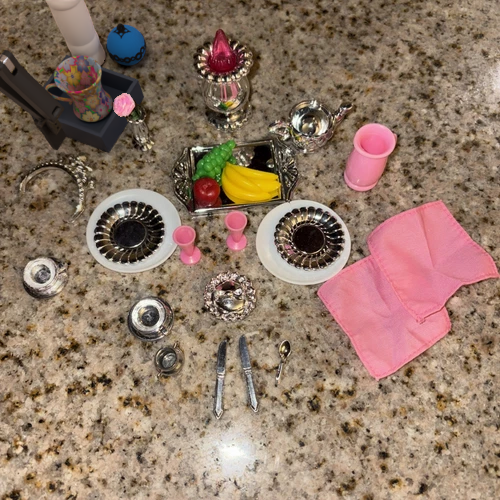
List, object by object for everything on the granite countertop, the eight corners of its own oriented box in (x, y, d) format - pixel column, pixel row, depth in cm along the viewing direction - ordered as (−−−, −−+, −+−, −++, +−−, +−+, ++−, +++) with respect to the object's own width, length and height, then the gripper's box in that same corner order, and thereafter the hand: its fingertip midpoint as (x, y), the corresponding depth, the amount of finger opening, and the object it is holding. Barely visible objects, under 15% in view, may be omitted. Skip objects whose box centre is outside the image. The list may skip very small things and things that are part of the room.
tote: (37, 126, 105) (26, 109, 100) (75, 72, 111) (66, 54, 106) (109, 153, 103) (101, 137, 97) (144, 97, 108) (138, 79, 103)
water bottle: (91, 76, 110) (46, -22, 87) (69, 62, 112) (19, -39, 89) (112, 57, 112) (74, -45, 89) (90, 42, 114) (47, -61, 91)
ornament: (132, 39, 114) (121, 3, 105) (157, 59, 112) (148, 23, 103) (104, 60, 112) (90, 25, 103) (128, 80, 110) (116, 47, 100)
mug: (111, 86, 108) (97, 50, 98) (119, 120, 105) (104, 86, 95) (57, 99, 107) (37, 64, 97) (63, 133, 104) (42, 100, 94)
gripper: (48, 14, 52) (106, 133, 71) (-143, -44, 56) (-38, 85, 75) (10, 66, 49) (81, 175, 69) (-187, 2, 53) (-66, 123, 73)
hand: (19, 128), depth 72 cm, fingers open, 13 cm apart
